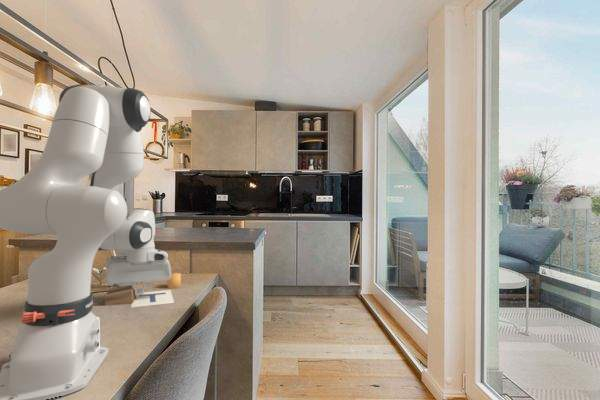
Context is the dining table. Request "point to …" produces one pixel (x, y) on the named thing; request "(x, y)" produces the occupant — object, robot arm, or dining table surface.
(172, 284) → the orange cylinder
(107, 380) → the dining table surface
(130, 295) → the walnut block
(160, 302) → the letter card
